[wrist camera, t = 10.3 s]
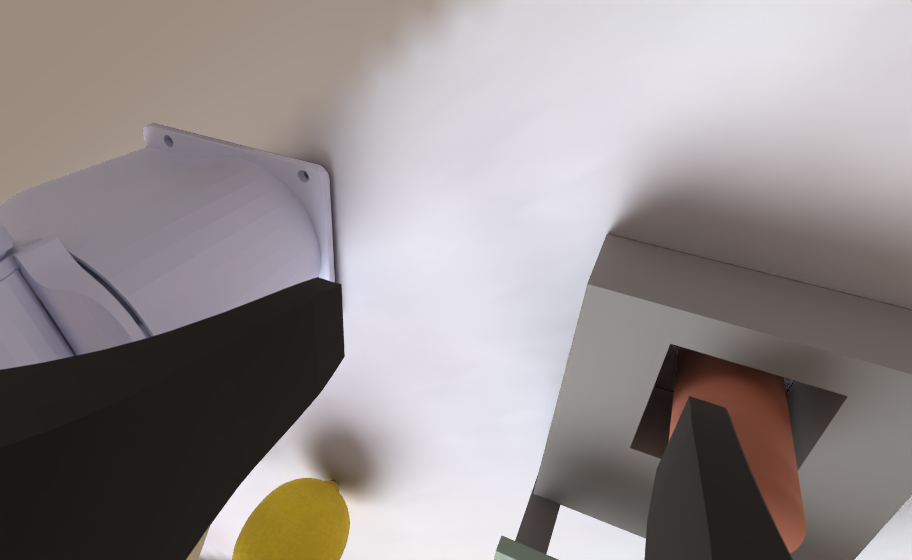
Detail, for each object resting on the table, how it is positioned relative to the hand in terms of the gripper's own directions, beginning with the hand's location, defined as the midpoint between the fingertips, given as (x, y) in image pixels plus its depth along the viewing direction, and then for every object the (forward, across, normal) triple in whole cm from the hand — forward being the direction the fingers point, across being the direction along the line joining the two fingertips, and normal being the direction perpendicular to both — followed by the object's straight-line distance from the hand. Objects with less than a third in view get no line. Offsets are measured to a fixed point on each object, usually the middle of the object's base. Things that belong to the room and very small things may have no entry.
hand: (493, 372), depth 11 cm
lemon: (+10, +11, +22) cm, 26 cm away
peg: (+9, -6, +4) cm, 12 cm away
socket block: (+9, -6, +7) cm, 13 cm away
